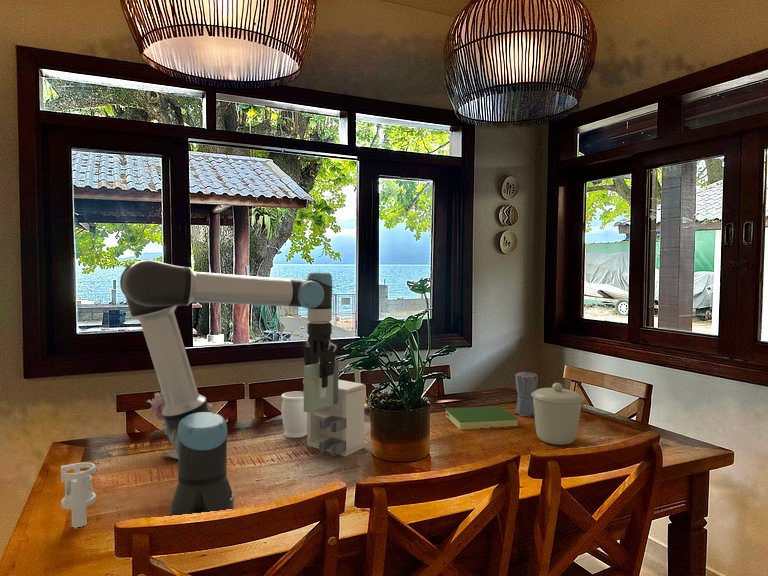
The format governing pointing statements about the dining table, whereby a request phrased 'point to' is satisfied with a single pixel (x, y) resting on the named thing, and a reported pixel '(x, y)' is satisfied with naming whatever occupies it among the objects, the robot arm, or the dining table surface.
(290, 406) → the jar
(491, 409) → the hardcover book
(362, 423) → the cabinet
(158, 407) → the flower
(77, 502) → the strainer
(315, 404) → the door
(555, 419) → the canister
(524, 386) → the moka pot
